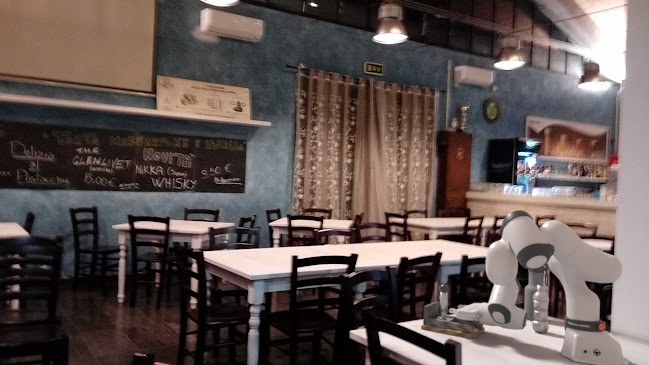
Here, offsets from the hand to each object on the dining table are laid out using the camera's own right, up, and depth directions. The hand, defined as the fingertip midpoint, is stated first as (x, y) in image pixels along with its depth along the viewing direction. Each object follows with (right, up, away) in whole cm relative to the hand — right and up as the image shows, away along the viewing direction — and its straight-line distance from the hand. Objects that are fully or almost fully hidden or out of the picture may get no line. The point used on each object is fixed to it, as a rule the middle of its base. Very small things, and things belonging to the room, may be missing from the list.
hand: (454, 308), depth 231 cm
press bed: (0, -9, +1) cm, 9 cm away
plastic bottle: (+37, -11, +2) cm, 39 cm away
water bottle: (+44, -11, +25) cm, 52 cm away
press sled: (-4, -8, +4) cm, 9 cm away
